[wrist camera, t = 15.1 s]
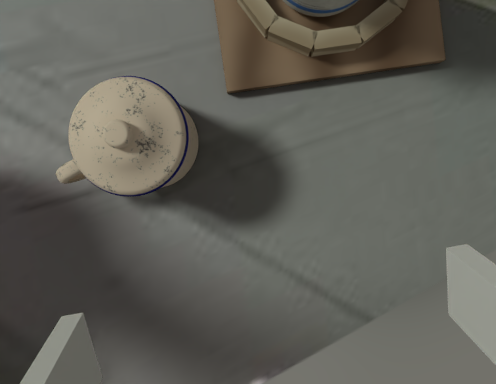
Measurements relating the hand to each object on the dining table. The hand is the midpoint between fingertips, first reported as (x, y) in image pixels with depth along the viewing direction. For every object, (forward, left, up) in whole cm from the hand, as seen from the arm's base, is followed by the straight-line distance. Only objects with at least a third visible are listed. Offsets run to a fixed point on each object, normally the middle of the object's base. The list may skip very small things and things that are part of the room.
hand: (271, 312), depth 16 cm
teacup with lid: (-10, +8, -27) cm, 30 cm away
